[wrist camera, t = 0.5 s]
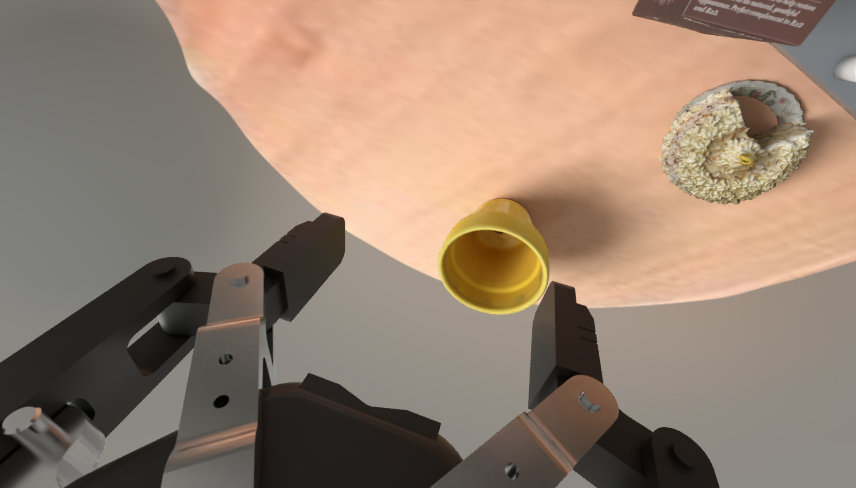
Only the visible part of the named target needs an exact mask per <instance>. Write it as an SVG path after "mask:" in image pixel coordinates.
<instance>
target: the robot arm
mask: <svg viewBox="0 0 856 488" xmlns="http://www.w3.org/2000/svg"><path fill="white" fill-rule="evenodd" d="M344 253H345V220H344V218H342V217H339V216H336V215H332V214H329V213H322V214H321V215H320V216H319V217H318V218H317V219H316V220H314V221H313V222H311V221H307V222H305V223H302V224H299V225H297V226H295V227H294V228H293V229H292V230H290V231H289V232H288V233H287V235H284V236H283V237H282V238H281V239H280V240H279V241H277V242H276V243H275V244H274V245H272V246H271V247H270V248H269V249H268V250H266V251H265V252H264V253H263V254H262V255H260V256H259V257H258V258H257V259H256V260H254V261H253V262H252V263H237V264H233V265H230V266H228V267H226V268H224V269H222V270H221V271H220V272H218V273H209V272H194V271H193V269H192V266H191V264H190V262H189V261H188V260H186V259H184V258H180V257H167V258H161V259H158V260H155V261H152V262H151V263H148V264H147V265H145V266H143V267H142V268H141V269H139V270H138V271H136V272H135V273H133V274H132V275H130V276H128V277H127V278H126V279H124V280H123V281H121V282H120V283H118V284H117V285H115V286H114V287H112V288H111V289H109V290H108V291H106V292H105V293H103V294H102V295H100V296H99V297H97V298H96V299H94V300H93V301H91V302H90V303H88V304H87V305H85V306H84V307H82V308H81V309H79V310H78V311H77V312H75V313H74V314H72V315H71V316H69V317H68V318H66V319H65V320H63V321H62V322H60V323H59V324H57V325H56V326H54V327H53V328H51V329H50V330H48V331H47V332H45V333H44V334H42V335H41V336H40V337H38V338H36V339H35V340H34V341H32V342H30V343H29V344H28V345H26V346H25V347H23V348H22V349H20V350H19V351H17V352H16V353H14V354H13V355H11V356H10V357H8V358H7V359H5V360H4V361H2V362H1V363H0V488H555V487H556V486H557V485H558V484H559V483H560V482H561V481H562V480H563V479H564V477H566V475H567V474H568V473H569V472H570V471H571V470H572V469H573V470H574V471H575V472H577V473H578V474H580V475H581V476H582V477H583V478H585V479H586V480H587V481H589V482H590V483H591V484H593V485H594V486H595V487H597V488H719V484H718V481H717V478H716V475H715V472H714V468H713V466H712V464H711V462H710V460H709V458H708V457H707V455H706V454H705V452H704V451H703V450H702V449H701V448H700V446H698V444H697V443H695V442H694V441H693V440H692V439H691V438H689V437H688V436H687V435H685V434H683V433H682V432H680V431H678V430H675V429H672V428H667V427H661V428H658V429H656V430H655V431H654V432H652V431H650V430H649V429H647V428H646V427H644V426H643V425H641V424H639V423H638V422H636V421H635V420H633V419H632V418H630V417H628V416H627V415H626V414H624V413H623V412H622V411H621V410H620V409H619V408H618V404H617V401H616V399H615V397H614V396H613V394H612V393H611V392H610V390H609V389H608V388H607V387H606V386H605V385H604V384H603V379H602V371H601V365H600V358H599V351H598V345H597V338H596V334H595V325H594V319H593V317H592V315H591V314H590V312H589V310H588V309H587V307H586V306H584V305H581V304H577V303H576V294H575V288H574V287H571V286H568V285H564V284H561V283H558V282H554V281H552V282H551V283H550V285H549V287H548V289H547V291H546V293H545V295H544V297H543V299H542V301H541V303H540V305H539V307H538V309H537V311H536V313H535V317H534V321H533V326H532V344H531V345H532V346H531V363H530V384H529V401H528V408H529V409H531V411H530V412H528V413H526V412H523V413H521V414H520V415H518V416H517V417H516V418H515V419H513V420H512V421H511V422H510V423H508V424H507V425H506V426H505V427H503V428H502V429H501V430H500V431H499V432H497V433H496V434H495V435H494V436H492V437H491V438H490V439H489V440H488V441H487V442H485V443H484V444H483V445H481V446H480V447H479V448H478V449H477V450H476V451H474V452H473V453H472V454H470V455H469V456H468V457H467V458H466V459H464V460H463V459H462V458H461V456H460V455H459V453H458V452H457V451H456V450H455V448H454V447H453V446H452V445H451V444H450V443H449V442H448V441H447V440H446V439H444V438H443V437H442V436H440V435H439V434H438V433H439V429H440V425H441V423H439V422H437V421H434V420H431V419H429V418H426V417H423V416H420V415H418V414H415V413H413V412H410V411H408V410H400V409H390V408H380V407H372V406H368V405H367V404H365V403H364V402H362V401H361V400H360V399H358V398H357V397H356V396H354V395H353V394H352V393H350V392H349V391H348V390H346V389H345V388H343V387H342V386H341V385H339V384H337V383H334V382H331V381H329V380H326V379H324V378H321V377H318V376H316V375H313V374H310V373H308V375H307V376H306V378H305V379H304V381H303V382H302V383H301V382H295V383H294V382H293V383H283V384H278V385H277V384H276V374H275V335H274V323H276V321H277V320H278V319H279V318H281V319H283V320H286V321H289V322H291V321H292V320H293V319H294V318H295V317H296V315H297V314H298V313H299V312H300V311H301V309H302V308H303V307H304V306H305V305H306V303H307V302H308V301H309V300H310V299H311V298H312V296H313V295H314V294H315V293H316V292H317V290H318V289H319V288H320V287H321V286H322V284H323V283H324V282H325V281H326V280H327V279H328V277H329V276H330V275H331V274H332V273H333V271H334V270H335V269H336V268H337V267H338V265H339V264H340V263H341V261H342V259H343V257H344ZM155 317H157V319H158V321H159V322H158V323H157V324H155V326H153V327H152V328H151V329H150V330H148V331H147V332H146V333H145V334H144V335H143V336H141V337H140V338H139V339H138V340H137V341H136V342H134V343H133V344H132V345H131V346H130V347H129V348H127V346H128V343H129V341H130V340H131V338H132V337H133V336H134V335H135V334H136V333H137V332H138V331H139V330H141V329H142V328H143V327H144V326H145V325H147V324H148V323H149V322H150V321H152V320H153V319H154V318H155ZM193 348H194V350H193V355H192V361H191V366H190V371H189V377H188V382H187V387H186V392H185V398H184V403H183V408H182V413H181V419H180V424H179V429H178V430H177V431H175V432H173V433H170V434H169V435H166V436H164V437H162V438H160V439H158V440H156V441H154V442H152V443H150V444H148V445H146V446H144V447H141V448H139V449H137V450H135V451H133V452H131V453H129V454H127V455H125V456H123V457H121V458H119V459H116V460H115V461H112V462H110V463H108V464H106V465H104V466H102V467H100V468H98V469H96V468H97V465H98V463H97V460H98V458H99V456H100V455H101V453H102V451H103V449H104V445H105V438H106V437H107V436H108V435H109V434H110V433H111V432H112V431H113V430H114V429H115V428H116V427H117V426H118V425H119V424H120V422H122V421H123V419H125V418H126V417H127V415H129V413H130V412H131V411H132V410H133V409H134V408H135V407H136V406H137V405H138V404H139V403H140V402H141V401H142V400H143V399H144V398H145V397H146V396H147V395H148V394H149V393H150V392H151V391H152V390H153V389H154V388H155V387H156V386H157V385H158V384H159V383H160V382H161V381H162V380H163V379H164V378H165V377H166V376H167V375H168V374H169V372H171V371H172V369H173V368H174V367H175V366H176V365H177V364H178V363H179V362H180V361H181V360H182V359H183V358H184V357H185V356H186V355H187V354H188V353H189V352H190V351H191V350H192V349H193Z"/></svg>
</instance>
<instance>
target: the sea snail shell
mask: <svg viewBox="0 0 856 488" xmlns="http://www.w3.org/2000/svg"><path fill="white" fill-rule="evenodd" d="M733 95H739V96H749V97H752V98H755V99H758V100H759V101H761V102H763V103H765V104H766V105H768V106H769V107H770V108H771V110H772V112H774V113H775V115H776V117H777V120H778V123H779V124H778V126H773V128H772V129H770V130H769V131H766V132H763V133H761V134H759V135H756V136H753V138H750V137H748V134H747V133H746V132H747V131H748V129H750V128H748V129H747V127H746V126H745V123H744V121H743V116H742V115H741V113H742V112H741V109H740V104H739V101H738V100H735V99H733ZM689 105H691V106H690V107H689ZM686 109H687V110H686ZM803 113H804V112H803V110H802V109H801V107H800V102H799V101H798V100H797V99H796V98H795V95H794V94H792V93H789V91H787V90H786V88H784V87H781V86H778V85H777V84H776V83H766V82H765V81H755V82H754V81H750V80H746V81H742V82H732V83H730V84H727V85H722V86H718V87H717V88H715V89H714V90H709V91H706V92H705V93H703V94H702V95H701V96H698V97H696V98H695V99H693V100H692V101H691V102H690V103H688V104H687V105H685V106H684V107H683V108H682V110H681V111H680V113H679V112H678V113H677V116H679V115H680V116H679V118H678V119H675V118H676V117H677V116H674V119H675V120H674V122H672V126H671V129H672V130H671V131H670V132H668V133H667V136H665V138H664V139H663V141H664V140H665V142H663V143H662V148H661V151H662V156H661V157H659V160H660V162H661V163H662V166H661V169H662V171H663V172H665V173H666V174H667V177H668V179H669V181H670V182H672V183H673V184H676V186H678V187H679V189H682V190H683V191H684V193H690V195H691V194H693V195H694V196H696V198H698V199H700V198H702V200H705V201H708V202H709V203H712V202H713V201H717V202H718V204H719V203H722V204H727V203H728V202H730V203H735V204H739V203H740V200H741V201H745V200H747V199H749V200H752V199H753V198H756V196H758V195H761V192H768V191H770V189H771V188H774V187H776V183H778V182H781V183H783V182H784V180H786V179H788V177H789V176H790V175H791V174H792V173H793V171H794V170H795V169H799V165H798V164H800V163H801V160H802V159H803V158H807V151H808V147H809V144H810V142H811V134H812V133H813V132H814V131H813V130H811V129H807V128H806V127H805V126H804V125H805V124H807V123H806V122H805V123H804V120H803ZM678 114H679V115H678ZM670 124H671V123H670ZM803 126H804V127H803Z"/></svg>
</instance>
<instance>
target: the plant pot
mask: <svg viewBox="0 0 856 488" xmlns="http://www.w3.org/2000/svg"><path fill="white" fill-rule="evenodd" d="M438 269H439V274H440V277H441V280H442V282H443V284H444V286H445V287H446V288H447V290H448V291H449V292H450V294H451V295H452V296H453V297H454V298H456V299H457V300H458V301H460V302H461V303H462V304H464V305H466V306H468V307H470V308H472V309H475V310H477V311H480V312H484V313H489V314H511V313H516V312H519V311H522V310H524V309H527V308H528V307H530V306H532V305H533V304H534V303H535V302H537V301H538V300H539V299H540V297H541V296H542V295H543V293H544V291H545V290H546V287H547V285H548V280H549V255H548V249H547V246H546V243H545V241H544V239H543V237H542V236H541V234H540V233H539V232H538V230H537V229H536V228H535V227H534V226H533V223H532V220H531V218H530V216H529V214H528V212H527V211H526V209H525V208H524V207H523V206H521V205H520V204H518V203H517V202H514V201H512V200H508V199H494V200H491V201H488V202H486V203H485V204H483V205H482V206H481V207H480V208H479V209H478V210H477V211H476V212H475V213H473V214H471V215H468V216H467V217H465V218H463V219H462V220H460V221H459V222H458V223H457V224H456V225H455V226H454V227H453V228H452V230H451V231H450V233H449V235H448V236H447V238H446V240H445V242H444V244H443V246H442V248H441V251H440V254H439V259H438Z"/></svg>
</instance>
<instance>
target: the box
mask: <svg viewBox="0 0 856 488" xmlns="http://www.w3.org/2000/svg"><path fill="white" fill-rule="evenodd" d="M835 1H836V0H639V1H638V3H637V5H636V7H635V9H634V11H633V13H632V15H633V16H637V17H642V18H645V19H650V20H655V21H659V22H663V23H667V24H671V25H675V26H679V27H683V28H687V29H690V30H693V31H697V32H700V33H703V34H709V35H716V36H724V37H732V38H741V39H748V40H755V41H762V42H770V43H777V44H783V45H789V46H800V45H801V44H802V43H803V42H804V40H805V39H806V38H807V37H808V35H809V34H810V33H811V32H812V30H813V29H814V28H815V27H816V26H817V24H818V23H819V22H820V20H821V19H822V18H823V17H824V15H825V14H826V13H827V12H828V10H829V9H830V8H831V6H832V5H833V4H834V2H835Z"/></svg>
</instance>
